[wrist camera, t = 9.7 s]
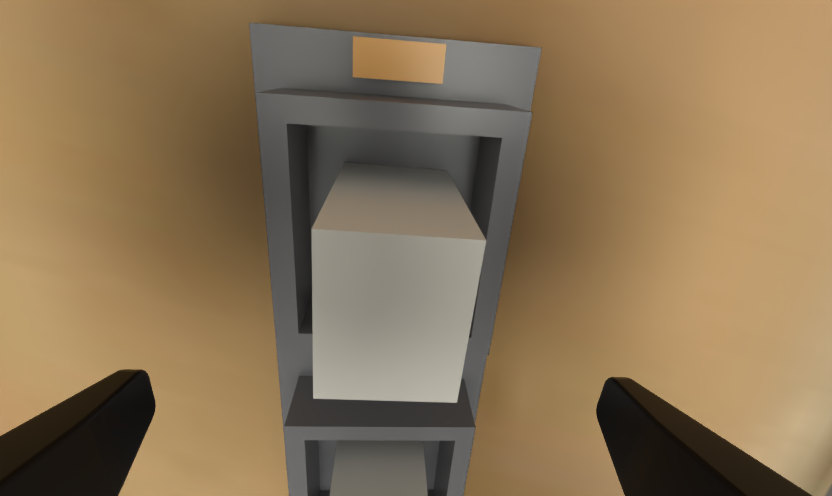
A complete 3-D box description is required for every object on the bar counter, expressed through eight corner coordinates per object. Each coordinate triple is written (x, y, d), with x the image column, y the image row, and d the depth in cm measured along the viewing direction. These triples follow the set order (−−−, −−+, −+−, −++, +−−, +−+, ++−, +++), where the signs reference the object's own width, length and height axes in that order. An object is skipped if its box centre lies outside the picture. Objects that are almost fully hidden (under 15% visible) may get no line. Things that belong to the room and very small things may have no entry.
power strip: (455, 503, 26) (465, 575, 22) (295, 504, 25) (278, 580, 21) (532, 48, 15) (578, 42, 11) (258, 25, 14) (212, 10, 11)
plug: (433, 282, 18) (457, 402, 11) (341, 277, 17) (312, 398, 11) (447, 170, 16) (486, 240, 9) (344, 162, 15) (311, 228, 9)
